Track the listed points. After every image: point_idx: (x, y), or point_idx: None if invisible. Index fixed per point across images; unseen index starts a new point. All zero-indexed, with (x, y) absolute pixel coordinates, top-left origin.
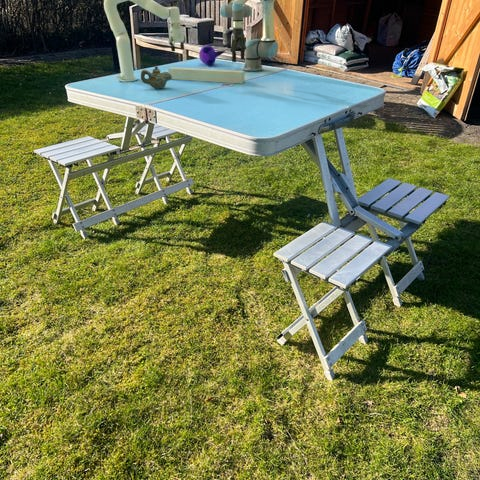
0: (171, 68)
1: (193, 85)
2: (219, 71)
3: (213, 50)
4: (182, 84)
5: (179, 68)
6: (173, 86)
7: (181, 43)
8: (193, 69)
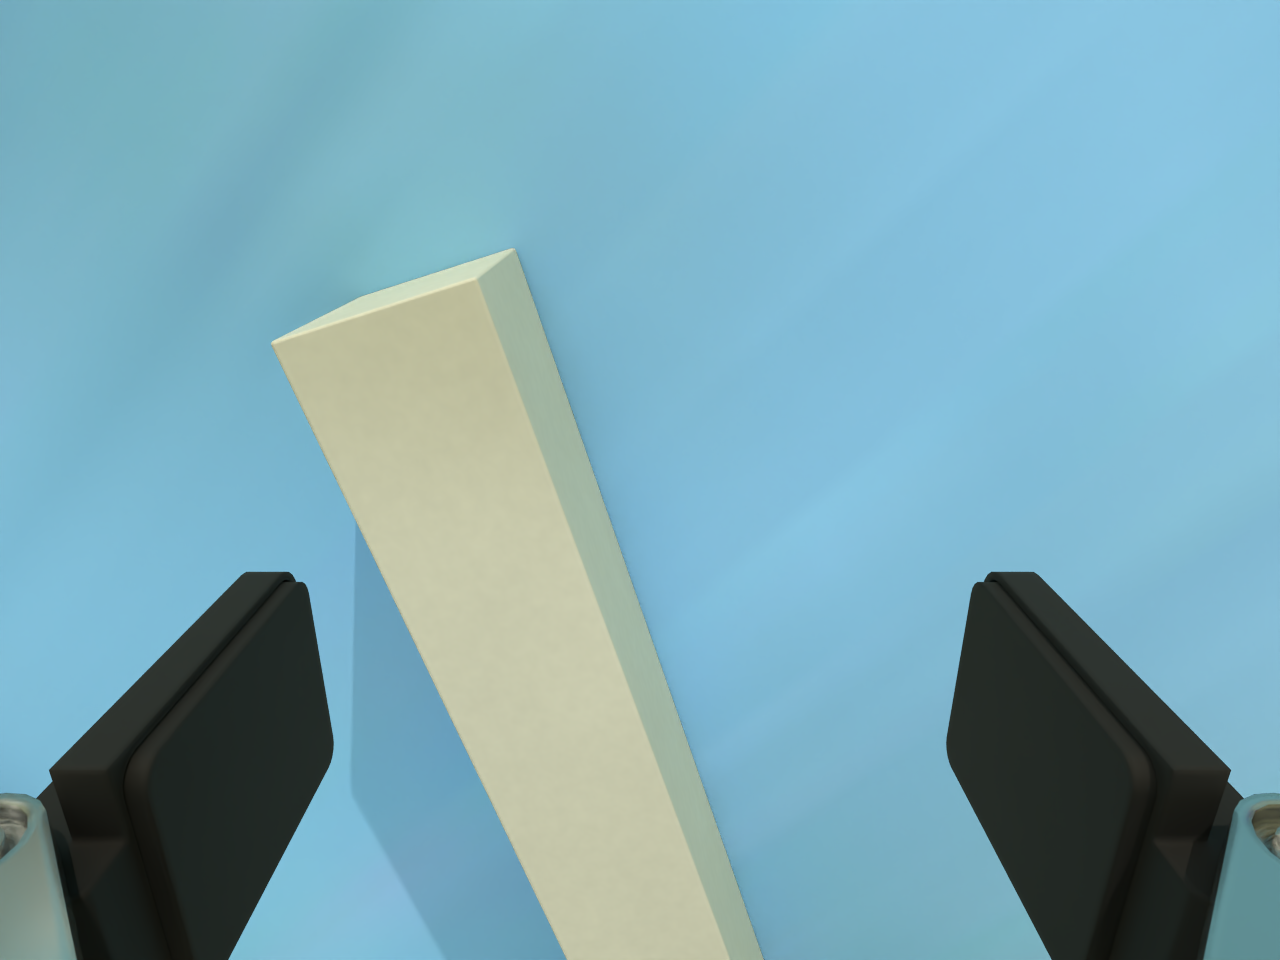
0: (335, 414)
1: (307, 941)
2: None
3: None
4: None
5: (468, 582)
6: None
7: (1154, 922)
8: (568, 879)
